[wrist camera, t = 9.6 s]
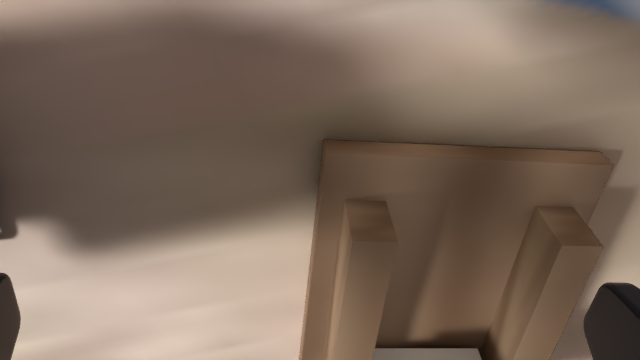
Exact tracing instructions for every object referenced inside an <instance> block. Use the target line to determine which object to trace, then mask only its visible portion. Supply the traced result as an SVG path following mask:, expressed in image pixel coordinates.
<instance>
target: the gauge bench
mask: <svg viewBox="0 0 640 360" xmlns="http://www.w3.org/2000/svg"><path fill="white" fill-rule="evenodd" d="M613 166H614V165H613V164H612V163H611V162H610V161H609V160H608V159H607V158H606V157H605V156H604V155H603V154H602V153H601V152H592V151H569V150H546V149H523V148H501V147H478V146H455V145H432V144H410V143H387V142H364V141H341V140H324V143H323V151H322V160H321V169H320V178H319V187H318V196H317V205H316V213H315V222H314V231H313V240H312V249H311V258H310V267H309V275H308V284H307V293H306V302H305V311H304V320H303V328H302V337H301V346H300V355H299V360H372V358H373V354H374V349H375V348H478V351H479V354H480V356H481V359H482V360H549V359H550V357H551V355H552V352H553V350H554V348H555V346H556V344H557V342H558V340H559V338H560V336H561V334H562V332H563V330H564V328H565V326H566V323H567V321H568V319H569V317H570V315H571V313H572V311H573V309H574V307H575V305H576V303H577V301H578V299H579V297H580V294H581V292H582V290H583V288H584V286H585V284H586V282H587V280H588V278H589V276H590V274H591V272H592V270H593V267H594V265H595V263H596V261H597V259H598V257H599V255H600V253H601V251H602V249H603V245H602V244H601V243H600V241H599V240H598V239H597V237H596V236H595V235H594V234H593V232H592V231H591V230H590V228H589V227H588V226H587V224H588V222H589V220H590V217H591V215H592V213H593V211H594V209H595V206H596V204H597V202H598V200H599V197H600V195H601V193H602V191H603V188H604V186H605V184H606V182H607V180H608V177H609V175H610V173H611V171H612V168H613Z"/></svg>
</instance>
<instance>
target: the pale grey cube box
mask: <svg viewBox="0 0 640 360" xmlns="http://www.w3.org/2000/svg"><path fill="white" fill-rule="evenodd" d="M372 360H482V359H481V356H480V354H479V351H478V348H375V349H374V354H373V358H372Z"/></svg>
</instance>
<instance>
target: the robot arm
mask: <svg viewBox="0 0 640 360" xmlns="http://www.w3.org/2000/svg"><path fill="white" fill-rule="evenodd" d="M20 320H21V318H20V311H19V307H18V304H17V300H16V296H15V293H14V289H13V286H12V282H11V280H10V277H9V276H8V275H7V274H5V273H0V360H11V357H12V353H13V350H14V346H15V343H16V339H17V336H18V333H19V329H20ZM584 332H585V336H586V339H587V342H588V345H589V348H590V351H591V354H592V357H593V360H640V289H639V288H637V287H636V286H634V285H632V284H630V283H605V284H603V285H602V286H601V287H600V288H599V290H598V292H597V294H596V296H595V298H594V300H593V302H592V304H591V306H590V308H589V310H588V312H587V314H586V316H585V318H584Z"/></svg>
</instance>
